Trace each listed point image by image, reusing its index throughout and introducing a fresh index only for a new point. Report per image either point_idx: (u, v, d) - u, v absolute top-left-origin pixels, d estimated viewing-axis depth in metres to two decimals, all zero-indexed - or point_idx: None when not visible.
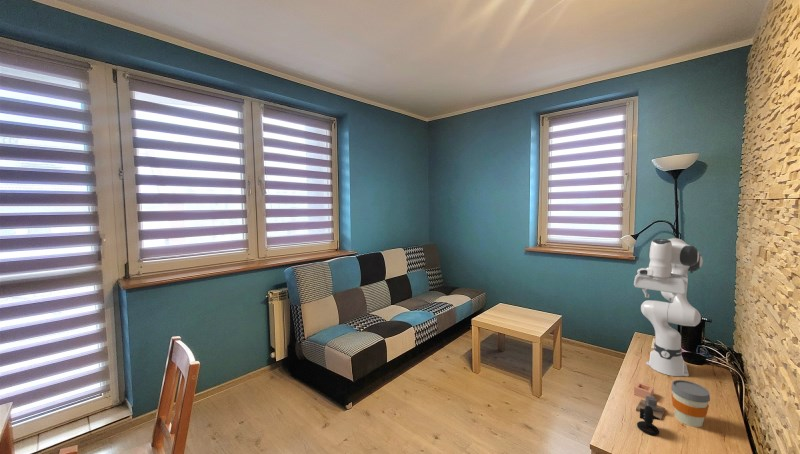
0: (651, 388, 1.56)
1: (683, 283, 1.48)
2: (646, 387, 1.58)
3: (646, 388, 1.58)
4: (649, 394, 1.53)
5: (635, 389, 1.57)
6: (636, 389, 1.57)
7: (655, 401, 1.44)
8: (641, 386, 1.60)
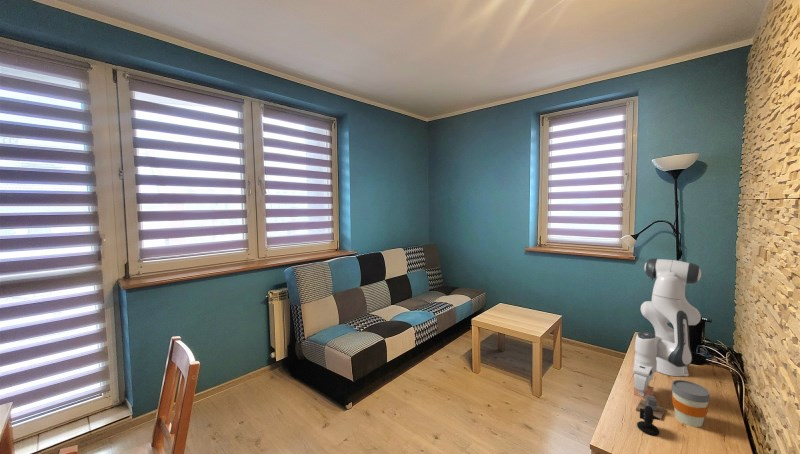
0: (651, 388, 1.56)
1: None
2: None
3: (646, 388, 1.58)
4: (649, 394, 1.53)
5: (635, 389, 1.57)
6: (636, 389, 1.57)
7: (655, 401, 1.44)
8: None
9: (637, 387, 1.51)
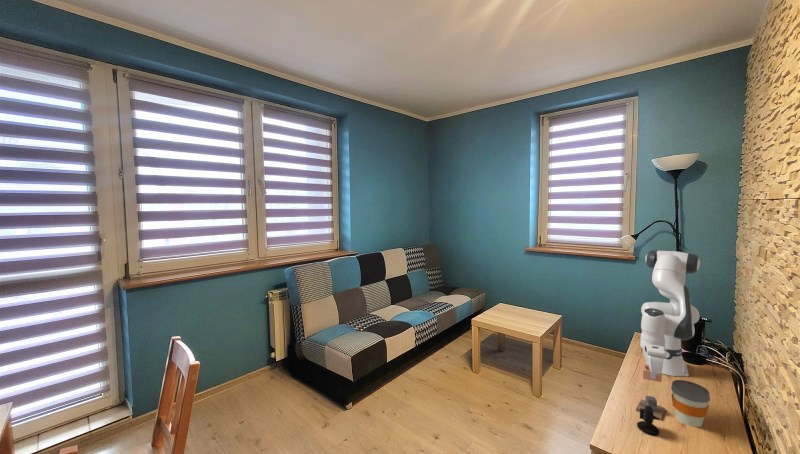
0: None
1: None
2: None
3: None
4: (660, 375, 1.41)
5: (644, 372, 1.44)
6: (645, 372, 1.44)
7: (655, 401, 1.44)
8: (646, 368, 1.48)
9: (654, 370, 1.37)
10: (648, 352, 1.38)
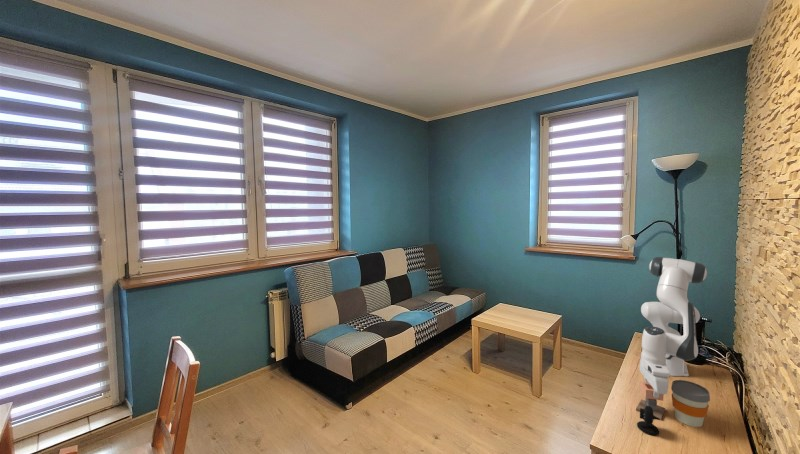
0: None
1: None
2: (651, 386, 1.47)
3: (651, 387, 1.47)
4: (662, 394, 1.41)
5: (647, 392, 1.43)
6: (648, 391, 1.43)
7: (655, 401, 1.44)
8: None
9: (660, 391, 1.36)
10: (653, 373, 1.37)
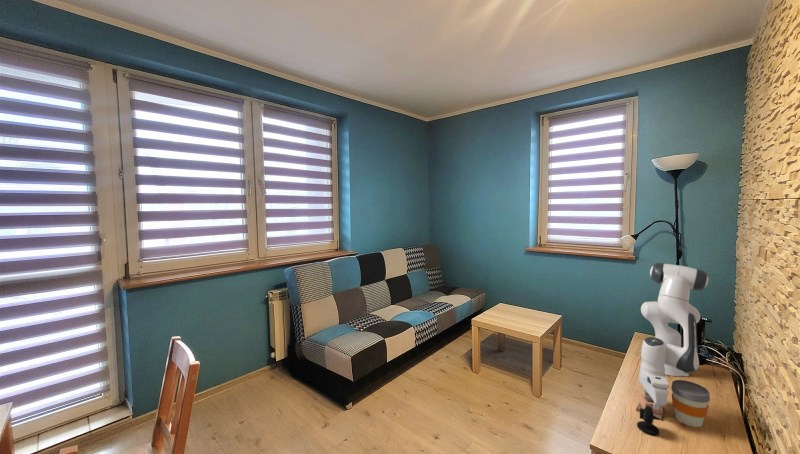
0: None
1: None
2: None
3: None
4: (661, 407, 1.42)
5: (646, 405, 1.44)
6: (647, 405, 1.43)
7: None
8: None
9: (659, 402, 1.36)
10: (653, 384, 1.37)
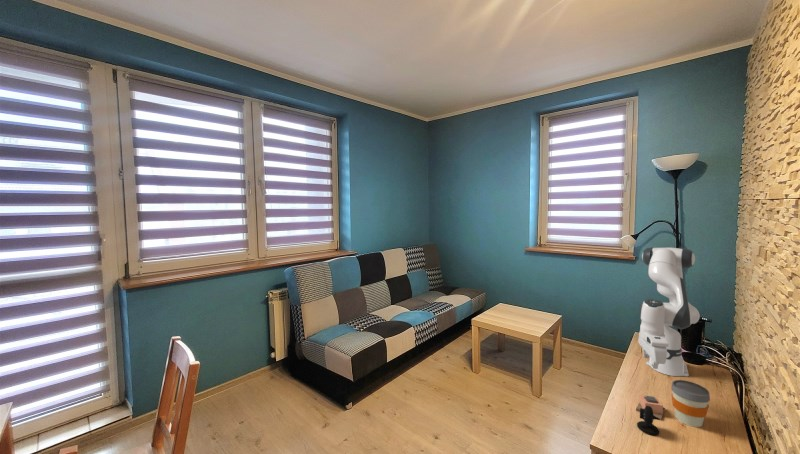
0: (656, 399, 1.46)
1: None
2: None
3: None
4: (661, 407, 1.42)
5: (646, 405, 1.44)
6: (647, 405, 1.43)
7: (655, 401, 1.44)
8: None
9: (658, 361, 1.38)
10: (652, 343, 1.39)
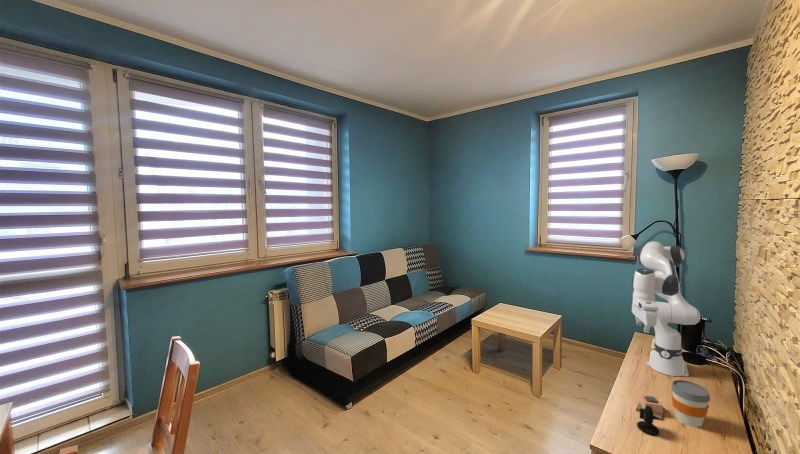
0: (656, 399, 1.46)
1: None
2: None
3: None
4: (661, 407, 1.42)
5: (646, 405, 1.44)
6: (647, 405, 1.43)
7: (655, 401, 1.44)
8: None
9: (649, 323, 1.48)
10: (643, 307, 1.50)
